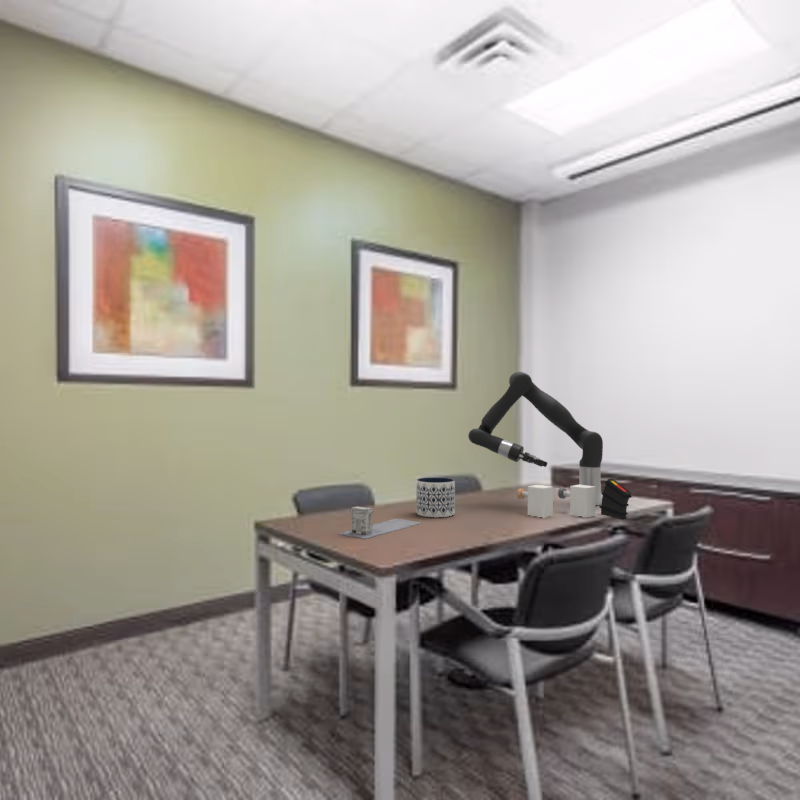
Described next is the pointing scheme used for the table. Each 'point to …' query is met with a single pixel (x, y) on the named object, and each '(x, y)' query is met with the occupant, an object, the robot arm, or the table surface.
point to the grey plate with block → (375, 529)
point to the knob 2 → (563, 493)
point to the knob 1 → (522, 493)
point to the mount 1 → (540, 500)
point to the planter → (435, 497)
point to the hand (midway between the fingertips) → (544, 464)
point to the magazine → (614, 499)
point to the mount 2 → (582, 500)
